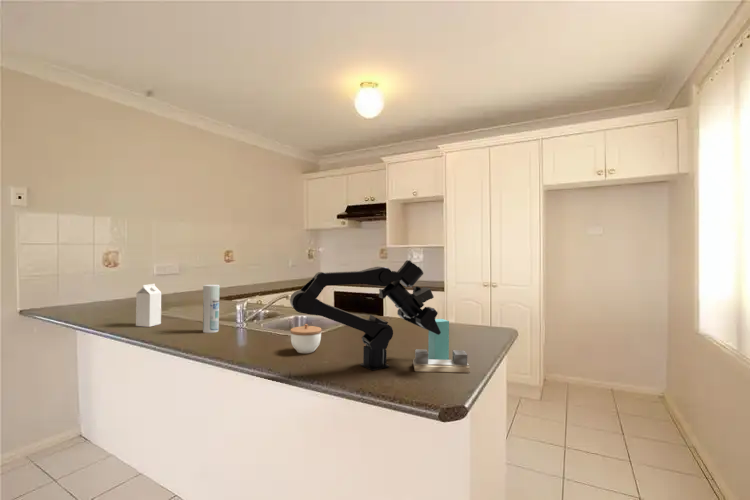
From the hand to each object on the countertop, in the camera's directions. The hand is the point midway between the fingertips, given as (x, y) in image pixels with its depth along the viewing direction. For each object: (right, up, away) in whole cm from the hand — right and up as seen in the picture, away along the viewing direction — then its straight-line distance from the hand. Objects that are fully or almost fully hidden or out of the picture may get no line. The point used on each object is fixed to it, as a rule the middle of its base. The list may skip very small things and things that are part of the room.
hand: (432, 330), depth 119 cm
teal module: (+2, -10, +1) cm, 10 cm away
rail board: (+1, -10, -8) cm, 12 cm away
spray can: (-90, -9, +40) cm, 99 cm away
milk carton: (-124, -9, +52) cm, 134 cm away
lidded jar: (-43, -10, +10) cm, 45 cm away
